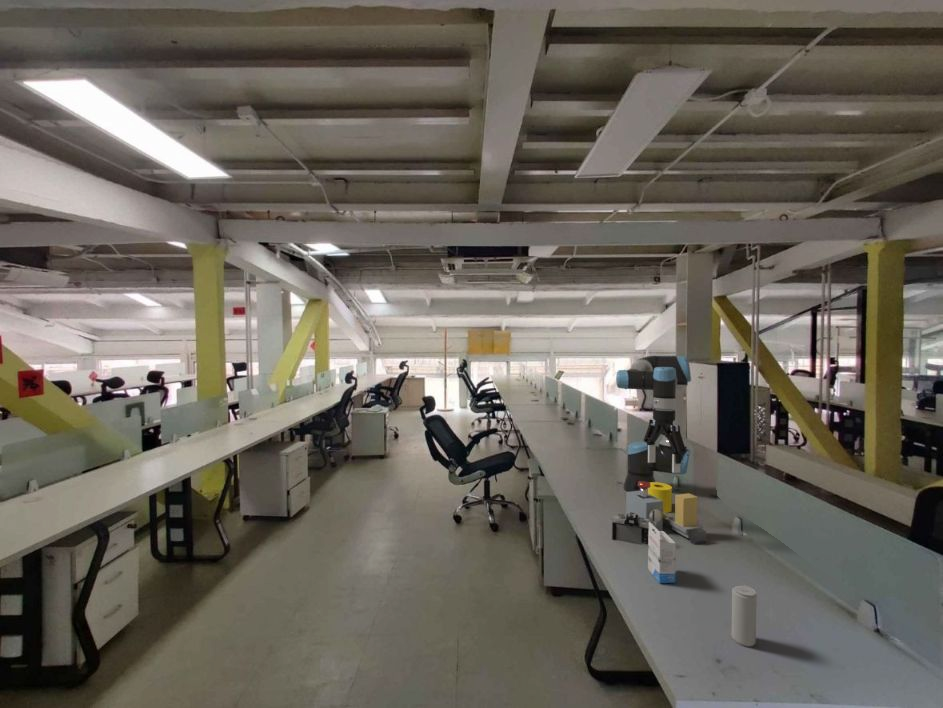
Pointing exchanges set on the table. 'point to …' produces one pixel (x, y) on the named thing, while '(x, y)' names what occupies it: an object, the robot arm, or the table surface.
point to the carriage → (685, 514)
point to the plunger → (643, 489)
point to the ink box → (661, 555)
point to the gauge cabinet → (645, 507)
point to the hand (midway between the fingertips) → (663, 467)
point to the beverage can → (744, 615)
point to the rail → (696, 535)
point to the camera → (631, 528)
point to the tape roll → (662, 494)
